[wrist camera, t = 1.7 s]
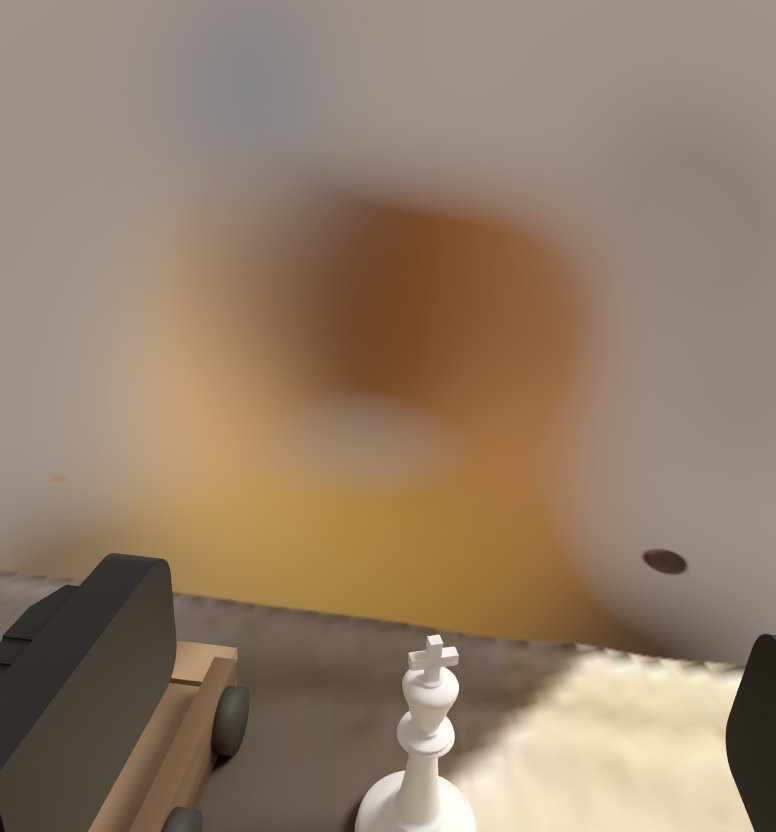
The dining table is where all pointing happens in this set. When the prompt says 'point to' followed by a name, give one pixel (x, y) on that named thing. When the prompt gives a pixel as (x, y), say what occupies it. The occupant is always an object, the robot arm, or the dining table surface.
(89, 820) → the robot arm
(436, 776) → the chess piece
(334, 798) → the dining table surface
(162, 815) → the truck bed
